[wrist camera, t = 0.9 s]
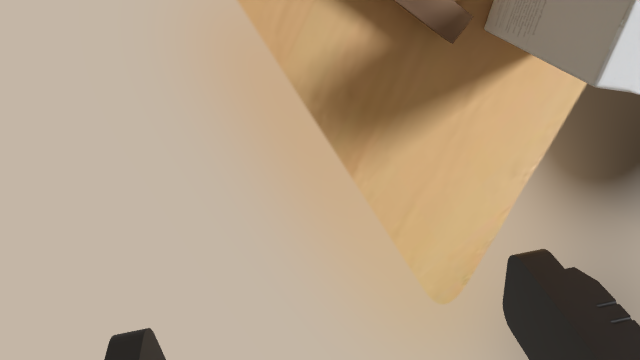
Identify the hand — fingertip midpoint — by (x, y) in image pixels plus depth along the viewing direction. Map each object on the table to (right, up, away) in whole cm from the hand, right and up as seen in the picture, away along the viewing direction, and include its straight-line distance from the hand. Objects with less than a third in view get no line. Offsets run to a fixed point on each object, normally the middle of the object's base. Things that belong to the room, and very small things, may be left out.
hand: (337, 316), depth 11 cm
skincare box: (+14, +15, +22) cm, 30 cm away
